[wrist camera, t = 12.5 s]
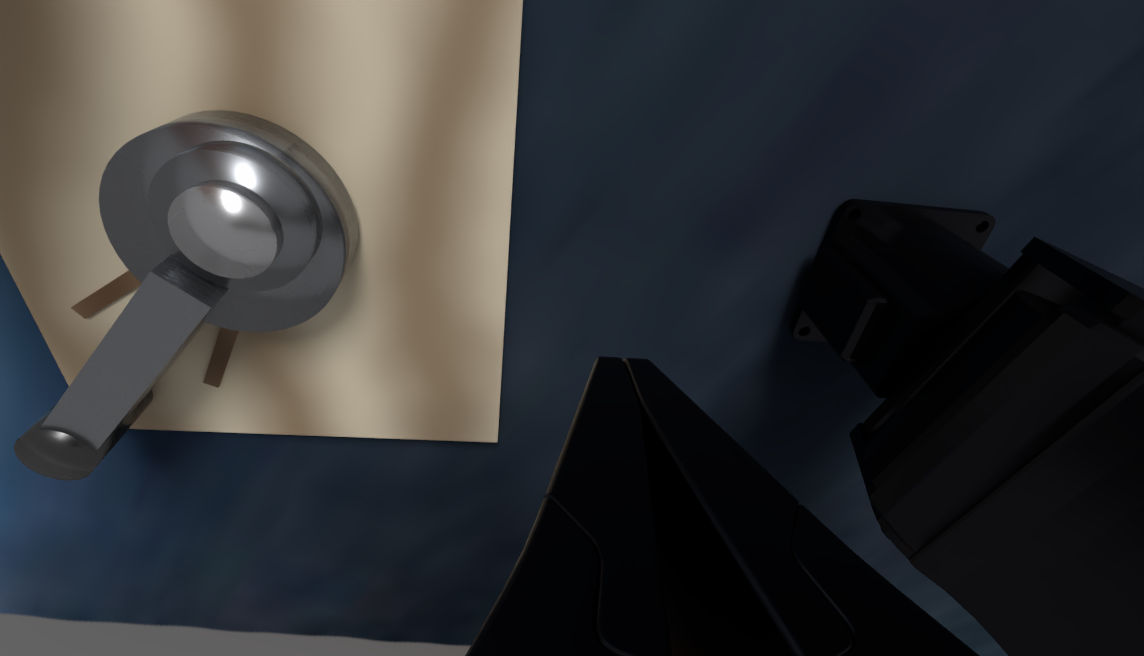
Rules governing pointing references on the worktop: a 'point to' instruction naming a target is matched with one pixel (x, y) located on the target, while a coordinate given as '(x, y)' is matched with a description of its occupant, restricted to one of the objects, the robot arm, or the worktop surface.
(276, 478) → the worktop surface
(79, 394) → the grey metal handled piece
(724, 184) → the worktop surface
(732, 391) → the worktop surface
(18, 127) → the level board
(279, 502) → the worktop surface
